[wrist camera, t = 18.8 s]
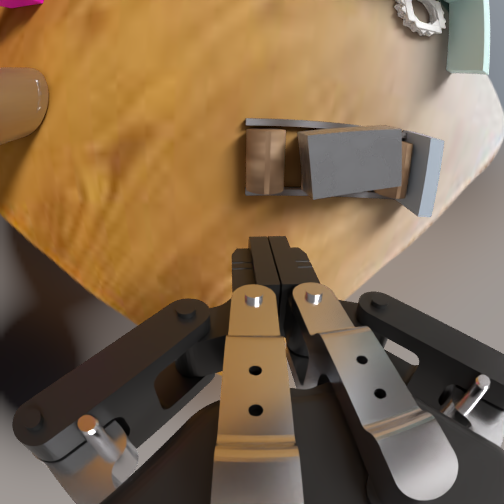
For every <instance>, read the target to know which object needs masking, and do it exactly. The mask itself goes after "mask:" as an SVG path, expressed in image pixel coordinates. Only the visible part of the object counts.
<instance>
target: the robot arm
mask: <svg viewBox="0 0 504 504" xmlns="http://www.w3.org/2000/svg"><path fill="white" fill-rule="evenodd" d="M48 96H49V93H48V86H47V83H46V80H45V78H44V76H43V75H42V74H41V73H40V72H39V71H38V70H36V69H33V68H0V145H1V144H4V143H7V142H10V141H13V140H16V139H19V138H22V137H25V136H28V135H29V134H31V133H32V132H34V131H35V130H36V129H37V127H38V126H39V125H40V123H41V122H42V120H43V118H44V116H45V113H46V110H47V105H48ZM232 292H233V294H232V297H231V299H230V300H229V301H227V302H226V303H224V304H223V305H220V306H217V307H213V308H209V307H208V306H207V305H206V304H205V303H204V302H202V301H200V300H197V299H181V300H177V301H175V302H173V303H171V304H169V305H168V306H166V307H165V308H163V309H162V310H160V311H159V312H158V313H156V314H155V315H153V316H152V317H150V318H149V319H147V320H146V321H144V322H143V323H141V324H140V325H138V326H137V327H136V328H134V329H132V330H131V331H130V332H128V333H127V334H125V335H124V336H122V337H121V338H119V339H118V340H116V341H115V342H113V343H112V344H110V345H109V346H108V347H106V348H105V349H103V350H102V351H100V352H99V353H97V354H96V355H94V356H93V357H91V358H90V359H88V360H87V361H85V362H84V363H83V364H81V365H80V366H78V367H77V368H75V369H74V370H72V371H71V372H69V373H68V374H66V375H65V376H63V377H62V378H61V379H59V380H58V381H56V382H55V383H53V384H52V385H50V386H49V387H47V388H46V389H45V390H43V391H42V392H40V393H39V394H37V395H36V396H34V397H33V398H31V399H30V400H28V401H27V402H26V403H24V404H23V405H21V407H19V409H18V410H17V411H16V413H15V415H14V418H13V431H14V434H15V436H16V437H17V439H18V440H19V441H20V442H21V443H22V444H23V445H24V446H26V447H27V448H28V449H29V450H30V451H31V452H32V454H33V455H34V456H35V457H36V458H37V459H38V460H40V461H41V462H42V463H43V464H44V465H45V466H47V467H48V468H49V469H50V471H51V472H52V474H53V475H54V476H55V478H56V479H57V480H58V482H59V483H60V484H61V486H62V487H63V488H64V490H65V491H66V492H67V493H68V495H69V496H70V497H71V498H72V500H73V501H74V502H75V503H76V504H504V450H503V449H502V448H501V444H502V441H503V438H504V354H502V353H500V352H499V351H497V350H495V349H493V348H491V347H489V346H487V345H485V344H483V343H481V342H479V341H478V340H476V339H473V338H472V337H470V336H468V335H466V334H464V333H462V332H460V331H458V330H456V329H454V328H452V327H450V326H448V325H446V324H444V323H442V322H440V321H438V320H437V319H435V318H433V317H431V316H429V315H427V314H425V313H422V312H421V311H419V310H417V309H415V308H413V307H411V306H409V305H407V304H404V303H403V302H401V301H399V300H397V299H394V298H392V297H390V296H389V295H386V294H384V293H380V292H367V293H364V294H363V295H361V297H360V298H359V302H358V303H354V302H347V301H341V300H338V299H337V297H336V296H335V294H334V292H333V291H332V290H331V289H330V288H328V287H327V286H325V285H322V284H320V282H319V280H318V278H317V275H316V273H315V271H314V269H313V267H312V265H311V263H310V262H309V259H308V256H307V254H306V253H305V252H303V251H302V250H301V249H299V248H290V246H289V243H288V241H287V238H286V236H268V238H267V237H249V248H248V249H236V250H235V252H234V253H233V254H232ZM284 337H285V338H286V349H285V342H284ZM387 339H390V340H392V341H393V342H395V343H397V344H399V345H401V346H403V347H404V348H406V349H408V350H410V351H412V352H413V353H415V354H416V355H417V356H418V358H419V365H411V364H409V363H408V362H406V361H404V360H402V359H400V358H399V357H397V356H395V355H393V354H392V353H390V352H388V351H386V350H384V346H385V344H386V341H387ZM286 358H287V360H286ZM287 361H288V364H289V367H290V370H291V373H292V376H293V379H294V382H295V386H296V389H295V388H290V387H289V378H288V369H287ZM220 371H223V374H222V385H221V397H220V400H219V401H216V402H214V403H212V404H209V405H207V406H206V407H204V408H202V409H201V410H199V411H198V412H197V413H195V414H194V415H193V416H192V417H191V418H190V419H188V421H187V422H186V423H185V424H184V425H183V426H182V427H181V428H180V429H179V430H178V431H177V432H176V433H175V434H174V435H173V436H172V437H171V438H170V439H169V440H168V441H167V442H166V443H165V444H164V445H163V446H162V447H161V448H160V449H159V450H158V451H156V452H155V453H154V454H153V455H152V456H151V457H150V458H149V459H148V460H147V461H146V462H145V463H144V464H143V465H142V466H141V467H140V468H139V469H138V470H136V471H135V473H133V474H132V475H131V476H130V474H131V473H132V472H133V471H134V470H135V468H136V467H137V464H138V452H137V450H136V449H137V448H138V447H139V446H140V445H141V444H142V443H144V442H145V441H146V440H147V439H148V438H149V437H151V436H152V435H153V434H154V433H155V432H156V431H157V430H159V429H160V428H161V427H162V426H163V425H164V424H165V423H166V422H167V421H169V420H170V419H171V418H172V417H173V416H174V415H175V414H176V413H177V412H179V411H180V410H181V409H182V408H183V407H184V406H185V405H186V404H187V403H188V402H189V401H190V400H191V399H193V398H194V397H195V396H196V395H197V394H198V393H199V392H200V391H201V390H202V389H203V388H204V387H205V386H206V385H207V384H208V383H210V381H211V380H212V379H213V378H214V376H215V373H217V372H220ZM129 476H130V477H129Z"/></svg>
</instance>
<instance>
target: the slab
mask: <svg viewBox="0 0 504 504" xmlns="http://www.w3.org/2000/svg"><path fill="white" fill-rule="evenodd" d="M297 134H298V143H299V153H300V163H301V173H302V184H303V191H304V192H305V193H306V194H308V195H309V196H310V197H311V198H312V199H313V200H314V199H320V198H326V197H332V196H339V195H345V194H351V193H358V192H364V191H371V190H378V189H384V188H391V187H399V186H401V182H402V133H401V129H399V128H395V127H390V126H386V125H381V126H359V127H344V128H331V129H320V130H310V131H301V132H297Z"/></svg>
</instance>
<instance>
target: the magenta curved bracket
mask: <svg viewBox="0 0 504 504" xmlns="http://www.w3.org/2000/svg"><path fill="white" fill-rule="evenodd" d="M43 1H44V0H0V6H3V7H8V8H17V7H22V6H28V5H35V4H42V3H43Z"/></svg>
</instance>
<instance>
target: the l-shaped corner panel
mask: <svg viewBox="0 0 504 504" xmlns="http://www.w3.org/2000/svg"><path fill="white" fill-rule="evenodd" d="M395 1H396V2H397V3H398V4H397V5H395V6H394V8H395V9H396V10H397V11H398V17H400V18H402V19H403V25H404V26H406V27H409V28H410V29H411V31H412V32H415V31H416V32H418V34H419V35H420V36H422V35H427V36H429V37H430V36H431V35H433V34H439V33H440V34H441V33H442V31H441V29H446V27H445V22H446V20H445V19H444V17H443V15H444V11H443V10H442V8H441V4H442V5H443V7H444V8H445V9H446V10H447V11H448V13H449V38H448V54H447V66H446V70H447V71H449V72H451V73H469V74H487V75H488V74H489V58H490V57H489V56H490V12H489V0H439V1H440V2H441V4H440V2H438V1H435V0H418V1H419V2H421V3H423V5H424V6H425V8H426V9H427V11H428V12H429V14H430V19H429V23H423V22H420V21H419V19H418V18H417V17H416V16H415V15H414V11H413V7H412V3H411V1H412V0H395Z"/></svg>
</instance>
